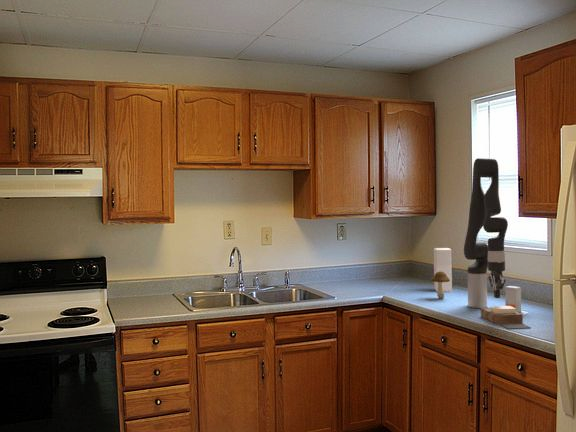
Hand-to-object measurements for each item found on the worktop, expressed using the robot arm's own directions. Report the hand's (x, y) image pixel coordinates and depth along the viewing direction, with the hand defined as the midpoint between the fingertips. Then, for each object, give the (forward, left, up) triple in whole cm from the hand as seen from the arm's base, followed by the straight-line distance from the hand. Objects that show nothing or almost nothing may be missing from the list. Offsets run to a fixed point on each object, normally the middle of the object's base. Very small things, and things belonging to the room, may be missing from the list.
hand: (497, 297), depth 255 cm
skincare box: (-11, +13, -9) cm, 20 cm away
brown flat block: (+5, 0, -9) cm, 10 cm away
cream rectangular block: (+7, 0, -5) cm, 8 cm away
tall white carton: (-73, 0, -9) cm, 74 cm away
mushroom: (-49, -10, -9) cm, 51 cm away
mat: (+17, 0, -9) cm, 20 cm away
